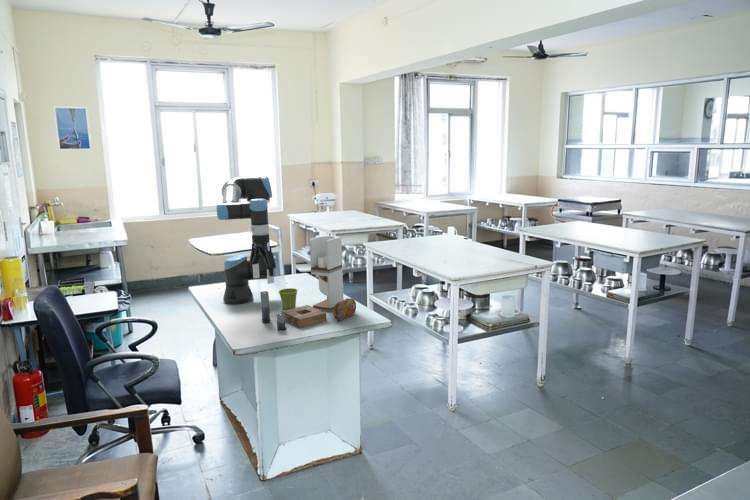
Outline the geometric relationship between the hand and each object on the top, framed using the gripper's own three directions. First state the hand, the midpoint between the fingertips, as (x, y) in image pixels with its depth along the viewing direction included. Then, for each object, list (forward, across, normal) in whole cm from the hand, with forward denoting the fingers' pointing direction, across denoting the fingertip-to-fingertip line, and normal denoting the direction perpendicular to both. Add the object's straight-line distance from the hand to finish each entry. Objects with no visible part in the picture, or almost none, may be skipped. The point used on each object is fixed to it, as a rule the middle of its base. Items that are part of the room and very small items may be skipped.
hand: (263, 280), depth 238 cm
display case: (+20, +2, +33) cm, 39 cm away
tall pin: (+20, 0, 0) cm, 20 cm away
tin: (+20, +20, +30) cm, 41 cm away
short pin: (+20, +14, 0) cm, 24 cm away
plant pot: (+20, -12, +19) cm, 30 cm away
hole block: (+20, +10, +14) cm, 26 cm away
